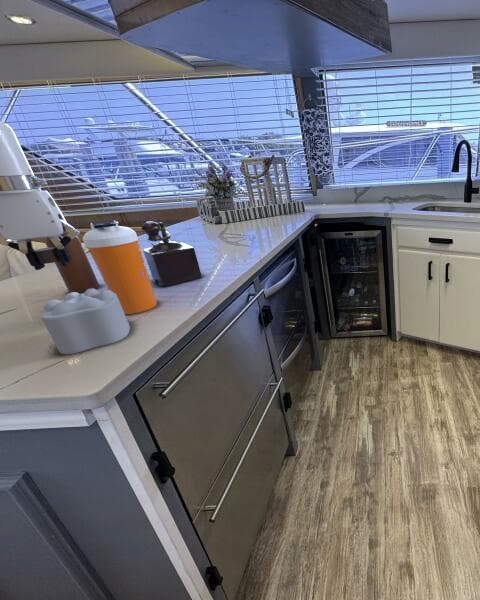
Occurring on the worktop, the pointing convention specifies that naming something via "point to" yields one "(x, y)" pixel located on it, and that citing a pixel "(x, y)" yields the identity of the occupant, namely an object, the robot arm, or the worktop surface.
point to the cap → (46, 255)
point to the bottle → (76, 267)
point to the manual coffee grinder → (169, 257)
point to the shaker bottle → (121, 265)
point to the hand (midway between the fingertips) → (53, 265)
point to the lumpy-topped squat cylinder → (85, 320)
